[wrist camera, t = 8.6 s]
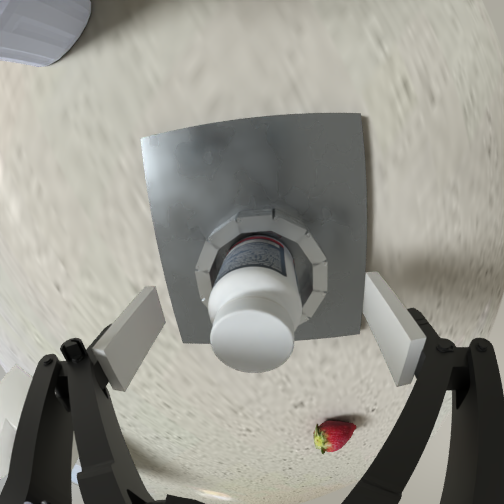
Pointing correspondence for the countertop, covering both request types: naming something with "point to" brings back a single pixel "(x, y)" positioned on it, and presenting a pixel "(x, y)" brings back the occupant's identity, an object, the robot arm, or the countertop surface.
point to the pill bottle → (255, 305)
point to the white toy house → (15, 414)
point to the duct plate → (263, 211)
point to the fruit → (332, 435)
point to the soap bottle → (40, 29)
